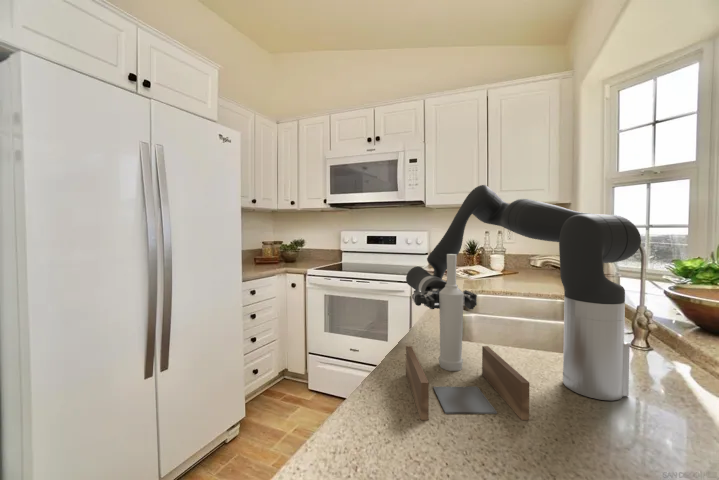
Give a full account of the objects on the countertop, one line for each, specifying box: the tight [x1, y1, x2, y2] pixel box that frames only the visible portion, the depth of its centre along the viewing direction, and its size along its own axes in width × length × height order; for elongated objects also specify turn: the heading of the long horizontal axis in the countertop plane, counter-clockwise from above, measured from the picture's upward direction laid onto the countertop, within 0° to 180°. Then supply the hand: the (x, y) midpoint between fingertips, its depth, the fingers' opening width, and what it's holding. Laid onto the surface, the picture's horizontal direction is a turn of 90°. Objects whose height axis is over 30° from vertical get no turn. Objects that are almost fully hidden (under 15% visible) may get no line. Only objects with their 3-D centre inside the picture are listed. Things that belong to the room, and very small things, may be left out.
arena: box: [405, 345, 530, 421], centre depth 58 cm, size 17×16×6 cm
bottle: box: [438, 254, 464, 372], centre depth 70 cm, size 5×5×25 cm
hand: (452, 304), depth 69 cm, fingers open, 8 cm apart
